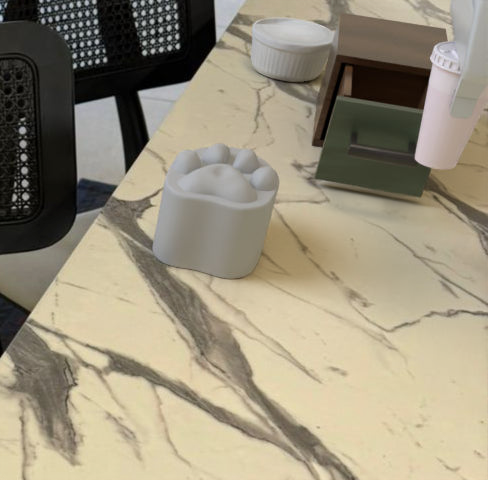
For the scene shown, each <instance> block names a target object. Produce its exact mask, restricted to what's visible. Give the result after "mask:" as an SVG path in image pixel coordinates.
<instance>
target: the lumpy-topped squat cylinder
mask: <svg viewBox="0 0 488 480" xmlns="http://www.w3.org/2000/svg"><path fill="white" fill-rule="evenodd" d="M279 187H280V177H279V175H278V173H277V171H276V169H274V168H273V167H272V166H271V165H270V164H269V163H268V162H267V161H266V160H264V159H263V158H262V157H259V156H258V155H257V154H256V152H255V150H253V149H250V148H243V149H242V148H239V147H238V148H237V147H232V146H228V145H227V144H225V143H220V142H219V143H218V142H217V143H215V144H212V145H211V146H207V147H206V146H205V147H200V148H196V149H183V150H181V151H180V152H179V153H177V155H176V156H175V158H174V161H173V162H171V164H170V166H169V168H168V170H167V172H166V174H165V178H164V182H163V188H162V193H161V199H160V203H159V209H158V214H157V220H156V224H155V225H156V226H155V231H154V236H153V242H152V254H153V255H154V256H155V258H156V259H157V260H158V261H160V262H162V263H163V264H165V265H168V266H170V267H174V268H179V269H186V270H192V271H197V272H201V273H205V274H207V275H210V276H214V277H216V278H220V279H228V280H231V279H233V280H234V279H242V278H244V277H247V276H249V275H250V274H251V273H252V272H254V270H255V268H256V267H257V265H258V264H259V262H260V259H261V256H262V252H263V249H264V245H265V242H266V238H267V234H268V231H269V226H270V222H271V220H272V219H271V218H272V214H273V210H274V207H275V203H276V200H277V196H278V191H279Z"/></svg>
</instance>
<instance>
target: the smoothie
mask: <svg viewBox="0 0 488 480" xmlns="http://www.w3.org/2000/svg"><path fill="white" fill-rule="evenodd" d="M430 60H431V62H432V63H433V65H432V69H431V74H430V79H429V85H428V90H427V95H426V101H425V106H424V111H423V116H422V121H421V127H420V132H419V137H418V142H417V147H416V153H415V160H416V161H417V162H418V163H420V164H422V165H424V166H427V167H430V168H431V169H435V170H452V169H454V168H456V166H457V164H458V163H459V160H460V159H461V156H462V154H463V152H464V150H465V148H466V146H467V144H468V142H469V140H470V138H471V136H472V134H473V132H474V130H475V128H476V126H477V124H478V122H479V120H480V117H481V116H482V114H483V112H484V110H485V108H486V106H487V104H488V85H486V87H485V88H484V90H483V92H482V93H481V95H480V96H479V98H478V99H477V102H476V104H475V107H474V110H473V113H472V115H471V116H470V117H469V118H467V119H463V118H456V117H452V116H451V115H450V109H449V105H450V102H451V99H452V96H453V93H454V90H456V88H457V86H458V83H459V80H460V77H461V71H460V65H459V59H458V54H457V48H456V42H455V41H454V40H448V41H447V42H442V43H439V44H437V45H435V46H434V49H433V52H432V55H431V57H430Z"/></svg>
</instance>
